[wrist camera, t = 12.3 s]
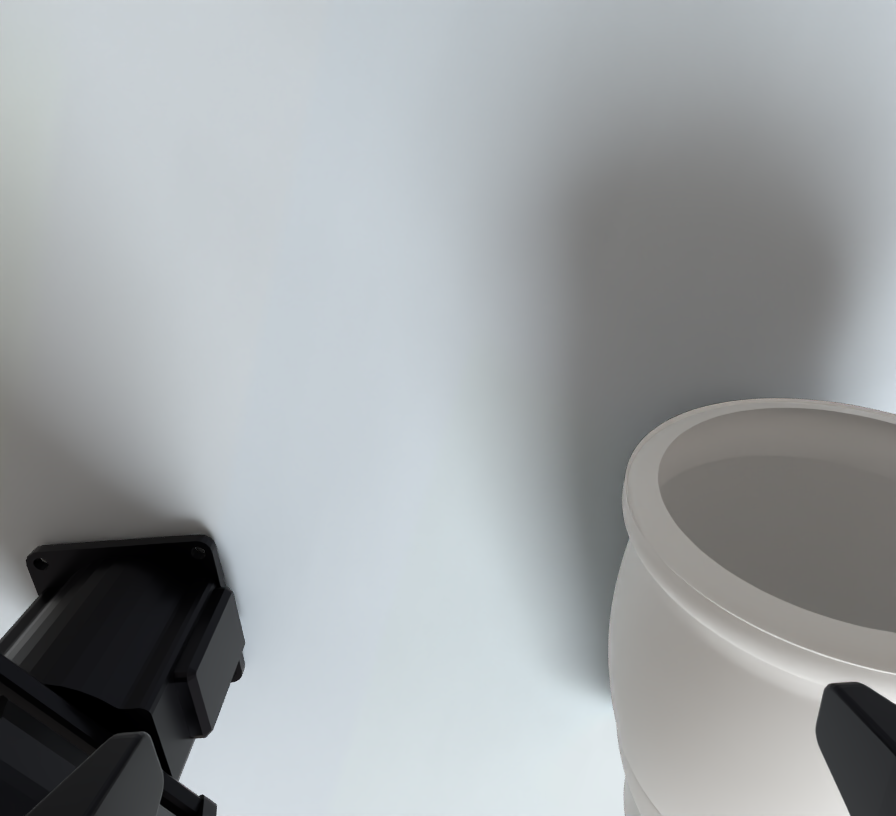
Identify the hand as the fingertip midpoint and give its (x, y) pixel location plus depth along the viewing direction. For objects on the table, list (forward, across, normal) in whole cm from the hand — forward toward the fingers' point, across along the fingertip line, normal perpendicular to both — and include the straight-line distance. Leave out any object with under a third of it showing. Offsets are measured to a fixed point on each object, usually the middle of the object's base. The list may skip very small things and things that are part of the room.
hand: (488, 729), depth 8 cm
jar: (+9, -10, +16) cm, 21 cm away
